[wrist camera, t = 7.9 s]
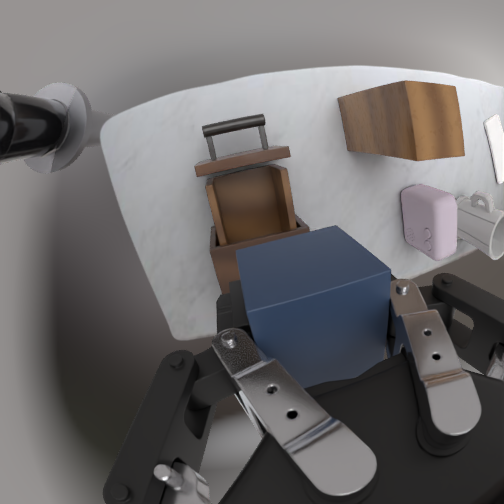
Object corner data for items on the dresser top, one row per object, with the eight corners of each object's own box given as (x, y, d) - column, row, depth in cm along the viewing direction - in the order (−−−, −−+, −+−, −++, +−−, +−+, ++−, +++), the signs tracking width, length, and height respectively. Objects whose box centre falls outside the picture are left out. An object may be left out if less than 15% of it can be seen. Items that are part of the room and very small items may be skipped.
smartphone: (498, 113, 34) (511, 173, 40) (495, 113, 35) (509, 172, 40) (485, 122, 35) (499, 185, 41) (482, 122, 36) (496, 184, 41)
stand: (347, 150, 36) (417, 161, 22) (337, 98, 33) (404, 80, 18) (390, 145, 37) (464, 156, 22) (382, 96, 33) (455, 86, 19)
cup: (436, 219, 43) (481, 242, 32) (456, 180, 40) (502, 195, 29) (458, 244, 45) (497, 267, 34) (477, 209, 43) (517, 227, 32)
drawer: (191, 131, 32) (185, 128, 26) (269, 115, 33) (281, 109, 26) (220, 248, 39) (221, 270, 32) (290, 232, 39) (305, 251, 33)
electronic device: (396, 188, 39) (435, 203, 30) (416, 182, 39) (456, 195, 30) (401, 243, 43) (436, 266, 34) (420, 235, 43) (456, 256, 34)
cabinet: (211, 226, 38) (209, 250, 30) (289, 208, 39) (309, 227, 31) (232, 305, 44) (236, 340, 36) (301, 288, 44) (319, 320, 36)
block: (257, 331, 14) (273, 402, 10) (235, 249, 12) (246, 312, 8) (342, 307, 14) (383, 366, 10) (336, 224, 12) (392, 269, 8)
